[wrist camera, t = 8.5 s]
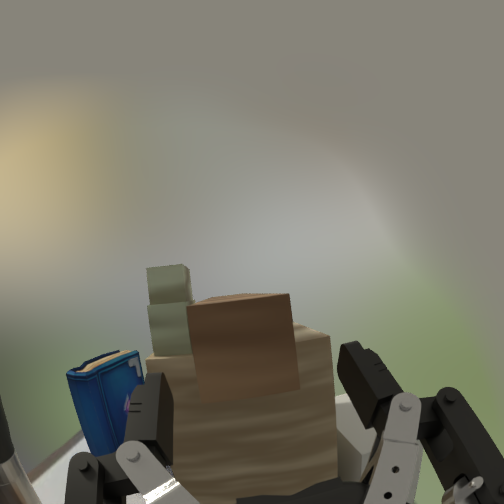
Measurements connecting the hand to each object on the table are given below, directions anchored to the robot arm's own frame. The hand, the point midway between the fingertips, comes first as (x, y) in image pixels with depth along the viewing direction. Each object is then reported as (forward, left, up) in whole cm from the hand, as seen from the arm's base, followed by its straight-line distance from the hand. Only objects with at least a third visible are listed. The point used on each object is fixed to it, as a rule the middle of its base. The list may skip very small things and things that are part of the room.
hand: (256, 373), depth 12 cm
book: (+13, +53, -33) cm, 64 cm away
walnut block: (+8, +8, -1) cm, 12 cm away
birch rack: (+11, +11, -33) cm, 36 cm away
